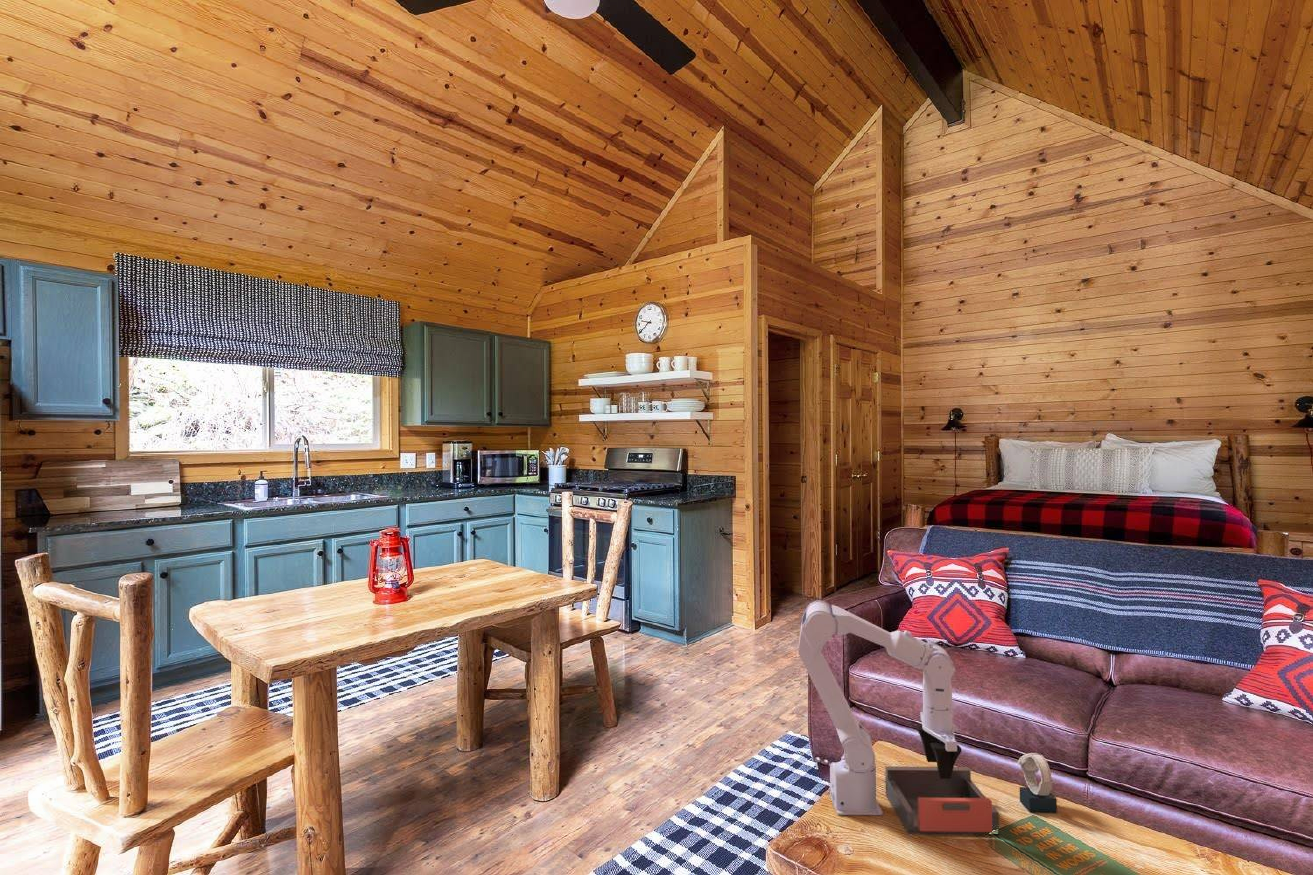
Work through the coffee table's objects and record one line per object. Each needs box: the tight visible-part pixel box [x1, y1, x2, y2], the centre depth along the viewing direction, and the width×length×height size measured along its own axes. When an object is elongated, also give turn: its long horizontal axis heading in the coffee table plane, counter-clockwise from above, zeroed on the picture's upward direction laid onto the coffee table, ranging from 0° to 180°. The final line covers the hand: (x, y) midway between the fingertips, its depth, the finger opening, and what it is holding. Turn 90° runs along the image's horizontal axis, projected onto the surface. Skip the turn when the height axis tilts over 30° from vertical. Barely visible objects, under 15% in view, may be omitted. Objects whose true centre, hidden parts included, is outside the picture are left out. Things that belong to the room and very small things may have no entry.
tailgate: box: [918, 797, 993, 832], centre depth 129 cm, size 14×2×6 cm, turn 88°
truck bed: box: [884, 765, 1000, 836], centre depth 137 cm, size 18×14×6 cm
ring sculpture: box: [1017, 752, 1058, 814], centre depth 139 cm, size 6×8×11 cm
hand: (938, 769), depth 137 cm, fingers open, 6 cm apart
